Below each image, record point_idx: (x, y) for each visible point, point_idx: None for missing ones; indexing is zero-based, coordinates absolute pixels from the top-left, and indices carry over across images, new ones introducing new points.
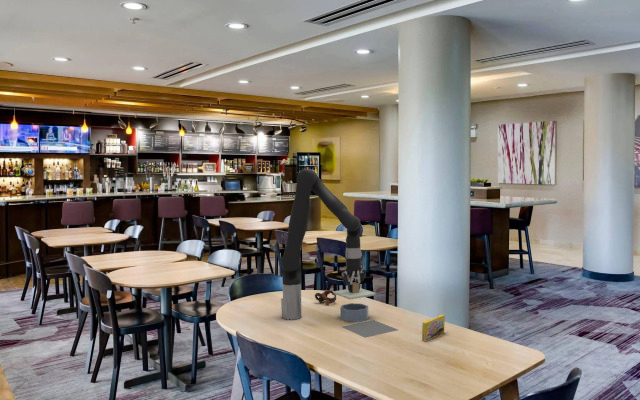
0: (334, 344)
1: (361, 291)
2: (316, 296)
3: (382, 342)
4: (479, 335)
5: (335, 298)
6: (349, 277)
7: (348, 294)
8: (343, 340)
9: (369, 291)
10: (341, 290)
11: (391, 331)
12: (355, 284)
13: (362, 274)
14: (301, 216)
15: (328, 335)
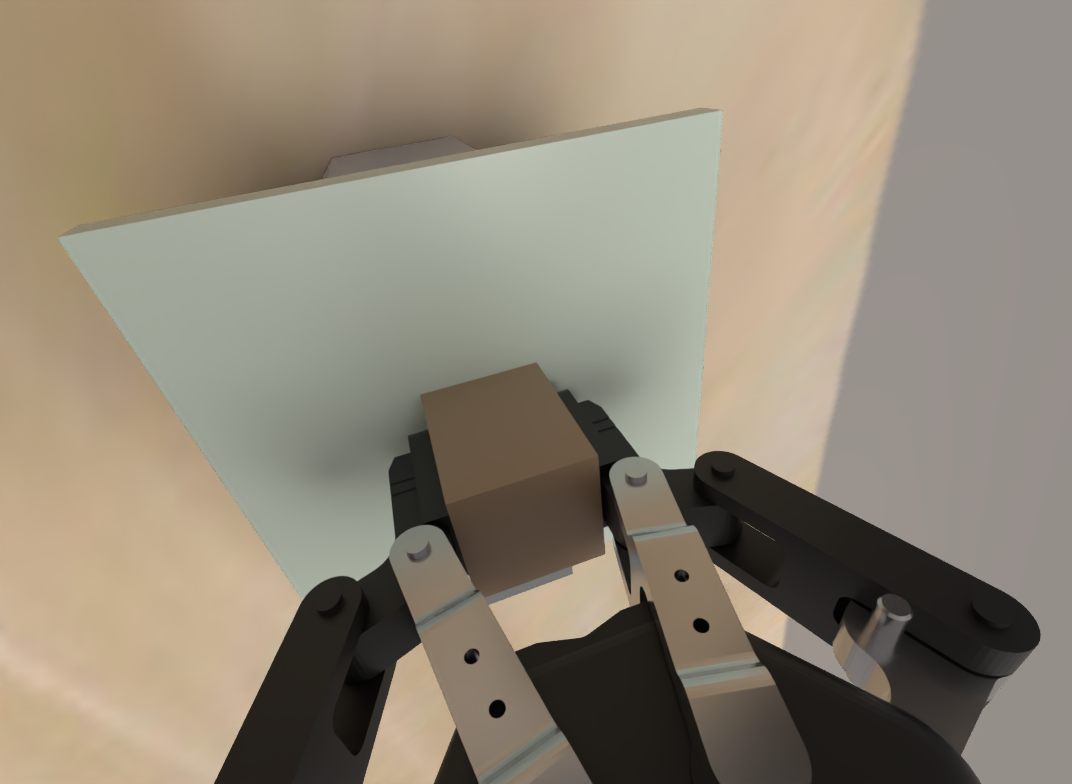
0: (127, 717)
1: (605, 409)
2: None
3: (415, 681)
4: (775, 619)
5: None
6: (474, 657)
7: (357, 515)
8: (202, 670)
9: (686, 436)
10: (309, 214)
11: (525, 590)
12: (527, 574)
13: (821, 620)
14: None
15: (91, 602)
